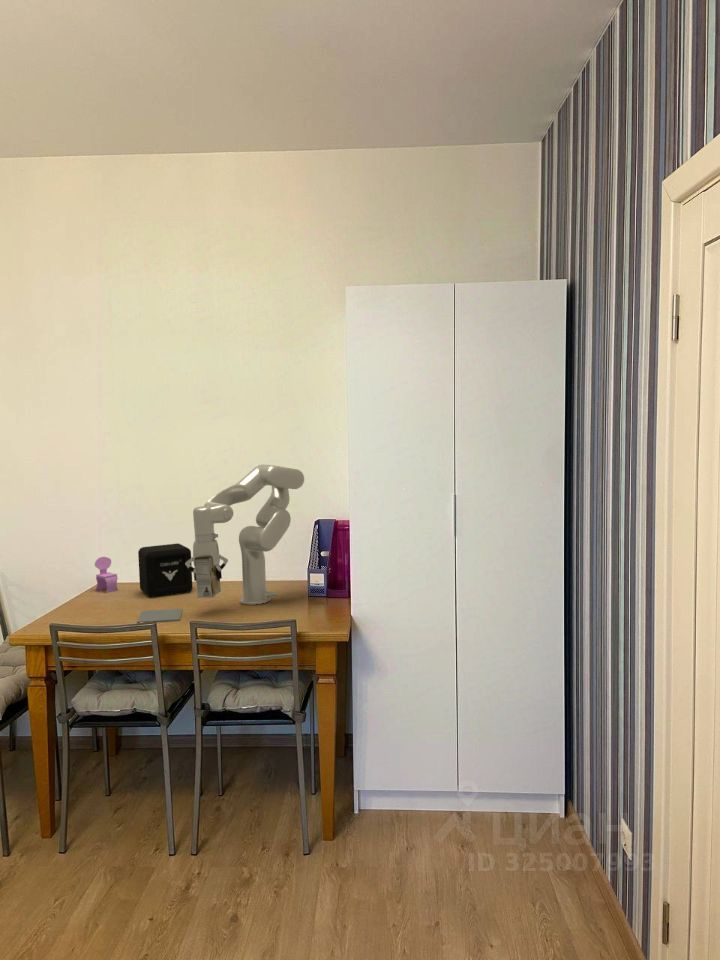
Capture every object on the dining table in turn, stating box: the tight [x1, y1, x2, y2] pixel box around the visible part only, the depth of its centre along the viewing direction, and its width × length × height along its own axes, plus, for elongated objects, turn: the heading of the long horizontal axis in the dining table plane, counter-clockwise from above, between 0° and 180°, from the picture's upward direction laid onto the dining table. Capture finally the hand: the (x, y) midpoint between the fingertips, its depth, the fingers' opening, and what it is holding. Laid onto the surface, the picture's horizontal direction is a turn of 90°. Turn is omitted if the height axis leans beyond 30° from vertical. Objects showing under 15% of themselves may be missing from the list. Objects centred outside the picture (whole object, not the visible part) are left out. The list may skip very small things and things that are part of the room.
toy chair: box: [94, 556, 119, 594], centre depth 354 cm, size 8×9×15 cm
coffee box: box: [194, 556, 222, 599], centre depth 313 cm, size 9×6×16 cm
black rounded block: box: [137, 542, 193, 598], centre depth 348 cm, size 20×15×20 cm
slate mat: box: [136, 608, 184, 624], centre depth 310 cm, size 16×16×1 cm
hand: (208, 581), depth 313 cm, fingers closed on coffee box, 8 cm apart
